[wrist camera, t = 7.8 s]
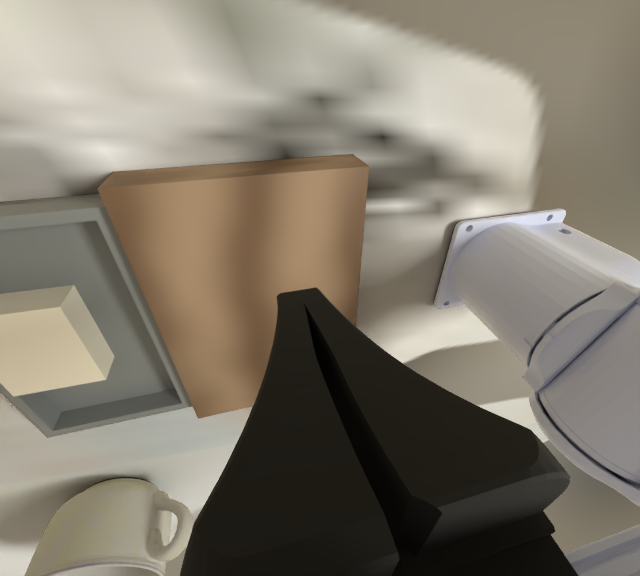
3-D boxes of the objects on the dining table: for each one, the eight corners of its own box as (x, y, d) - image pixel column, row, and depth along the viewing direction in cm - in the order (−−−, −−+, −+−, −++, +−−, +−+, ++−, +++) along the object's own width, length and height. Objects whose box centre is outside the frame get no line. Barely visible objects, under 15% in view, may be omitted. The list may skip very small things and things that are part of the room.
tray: (116, 192, 16) (105, 206, 14) (194, 384, 25) (192, 406, 24) (-122, 212, 14) (-165, 232, 12) (58, 412, 24) (47, 437, 22)
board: (352, 154, 18) (369, 166, 16) (341, 361, 29) (350, 383, 27) (112, 171, 15) (97, 188, 13) (199, 391, 26) (198, 418, 24)
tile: (-58, 322, 15) (-32, 297, 17) (13, 396, 19) (29, 370, 20) (60, 306, 16) (73, 284, 18) (106, 379, 20) (114, 356, 21)
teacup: (96, 526, 35) (69, 628, 28) (23, 491, 28) (-34, 615, 22) (219, 483, 36) (219, 572, 30) (177, 440, 29) (166, 543, 23)
